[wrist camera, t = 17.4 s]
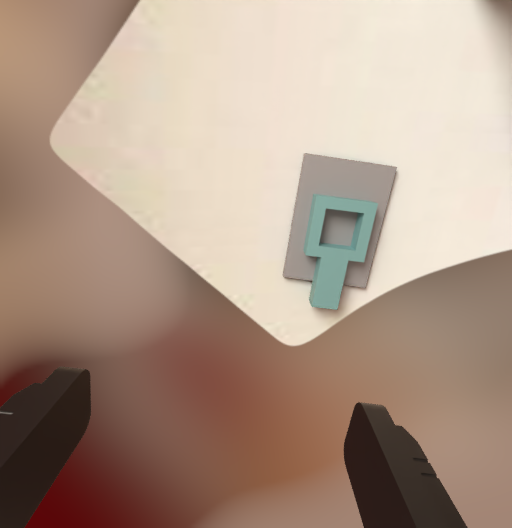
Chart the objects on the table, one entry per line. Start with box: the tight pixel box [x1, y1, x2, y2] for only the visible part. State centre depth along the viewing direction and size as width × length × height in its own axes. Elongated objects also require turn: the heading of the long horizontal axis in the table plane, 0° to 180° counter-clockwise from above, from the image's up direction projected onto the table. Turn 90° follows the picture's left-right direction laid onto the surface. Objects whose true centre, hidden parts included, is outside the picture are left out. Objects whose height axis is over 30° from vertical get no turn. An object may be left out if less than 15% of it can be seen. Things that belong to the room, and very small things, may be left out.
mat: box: [283, 153, 397, 288], centre depth 36 cm, size 14×10×1 cm
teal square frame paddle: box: [303, 194, 378, 310], centre depth 36 cm, size 12×6×2 cm, turn 173°
